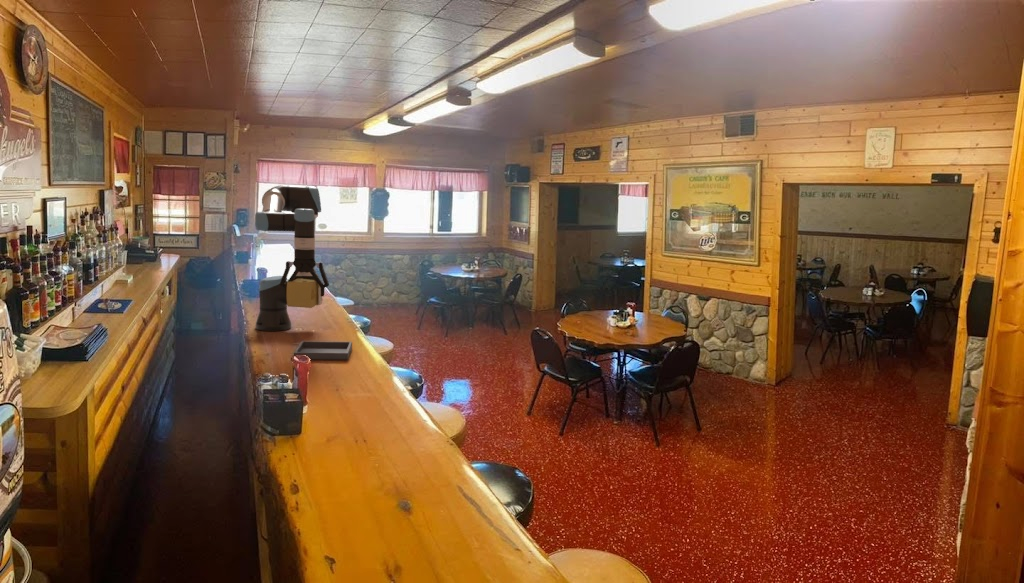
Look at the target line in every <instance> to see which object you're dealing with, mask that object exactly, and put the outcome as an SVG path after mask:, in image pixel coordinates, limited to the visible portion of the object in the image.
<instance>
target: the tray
mask: <svg viewBox="0 0 1024 583" xmlns="http://www.w3.org/2000/svg"><path fill="white" fill-rule="evenodd" d="M352 350H353V341H341V340H340V341H338V340H337V341H336V340H335V341H330V340H329V341H328V340H327V341H325V340H324V341H323V340H321V341H320V340H302V341H300V343H299V344H298V345H297V347H296V348H295V350H294V352H293V353H292V354H293V356H296V355H306V356H308V357H309V358H310V359H311V360H313V361H319V362H321V361H323V362H324V361H325V362H327V361H330V362H333V361H334V362H339V361H340V362H341V361H342V362H344V361H346V362H348V361H349V359H350V356H351V353H352Z"/></svg>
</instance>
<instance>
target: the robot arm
mask: <svg viewBox="0 0 1024 583" xmlns="http://www.w3.org/2000/svg"><path fill="white" fill-rule="evenodd" d="M261 205H262V209H261V210H262V211H256V212H255V214H254V218H255V219H254V227H255V230H256V231H261V232H294V237H293V238H294V242H293V243H294V245H293V246H294V252H293V253H294V260H293V261H291V260H290V261H289V260H288V261H286V262H285V269H284V272H283V274H282V275H276V276H268V277H265V278H262V279H260V280H259V286H258V287H259V288H258V291H259V293H258V294H259V313H258V316H257V318H256V321H255V329H256V330H259V331H261V332H263V331H264V332H280V331H286V330H290V329H291V328H292V322H291V319H290V315H289V313H288V306H287V282H290V281H293V280H296V279H309V280H314V281H316V282H317V283H318V285H319V286H320V288H319V305H318V306H321V305H322V304H323V297H324V296H325V288H327V287H328V288H329V286H330V282H329V280H328V277H327V275H326V272H325V269H324V262H323V261H321V262H317V261H316V254H315V253H316V244H315V243H316V242H315V241H316V235H315V234H316V233H315V232H316V231H315V229H316V225H315V223H316V222H315V220H316V219H317V218H318V216H319V213H322V205H321V196H320V191H319V188H318V187H316V186H313V185H289V184H282V185H281V184H280V185H276V186H274V187H271V188H270V189H269V188H268V190H266V191H265V192H264V193H263V195H262V198H261ZM293 266H294V269H295V270H294V271H293V273H292V274H291V275H290V277H289V278H288V275H289V272H290V270H291V268H292V267H293ZM316 267H317V268H318V270H319V273H320V276H321V278H322V279H321V278H320V276H319V274H318V273H317V272H316Z"/></svg>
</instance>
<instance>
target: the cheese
mask: <svg viewBox="0 0 1024 583" xmlns="http://www.w3.org/2000/svg"><path fill="white" fill-rule="evenodd" d="M319 288H320V286H319V285H318V283H317V282H316V281H314V280H309V279H296V280H293V281H290V282H287V308H289V307H291V308H306V309H307V308H308V309H311V308H312V309H313V308H315V307H316V306H320V305H319Z"/></svg>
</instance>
